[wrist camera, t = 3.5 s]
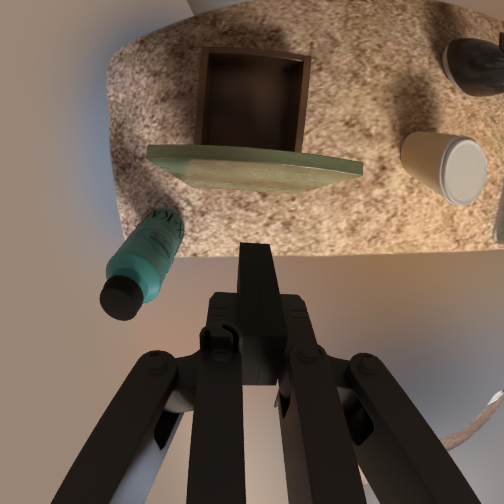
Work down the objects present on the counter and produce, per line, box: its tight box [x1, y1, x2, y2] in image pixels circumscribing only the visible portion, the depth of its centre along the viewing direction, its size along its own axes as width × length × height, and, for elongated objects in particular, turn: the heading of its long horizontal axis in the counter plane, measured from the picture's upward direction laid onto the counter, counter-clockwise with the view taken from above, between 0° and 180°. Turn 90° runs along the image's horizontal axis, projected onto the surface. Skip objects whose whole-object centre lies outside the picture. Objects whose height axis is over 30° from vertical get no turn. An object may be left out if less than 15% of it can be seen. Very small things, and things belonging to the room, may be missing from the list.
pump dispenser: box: [442, 32, 504, 97], centre depth 21 cm, size 10×10×15 cm
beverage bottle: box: [100, 208, 185, 321], centre depth 31 cm, size 6×7×20 cm
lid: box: [146, 145, 363, 195], centre depth 22 cm, size 17×12×1 cm
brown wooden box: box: [194, 47, 311, 153], centre depth 30 cm, size 16×12×8 cm
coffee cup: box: [401, 132, 487, 206], centre depth 31 cm, size 9×9×12 cm
